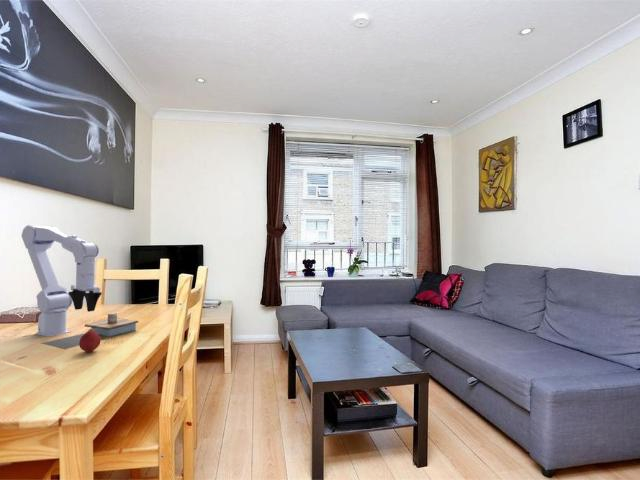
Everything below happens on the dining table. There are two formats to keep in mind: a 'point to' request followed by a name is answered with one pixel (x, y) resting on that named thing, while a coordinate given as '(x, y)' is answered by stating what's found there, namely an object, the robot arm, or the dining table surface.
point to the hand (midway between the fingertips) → (84, 310)
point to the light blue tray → (115, 330)
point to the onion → (89, 341)
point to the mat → (66, 342)
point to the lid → (111, 322)
